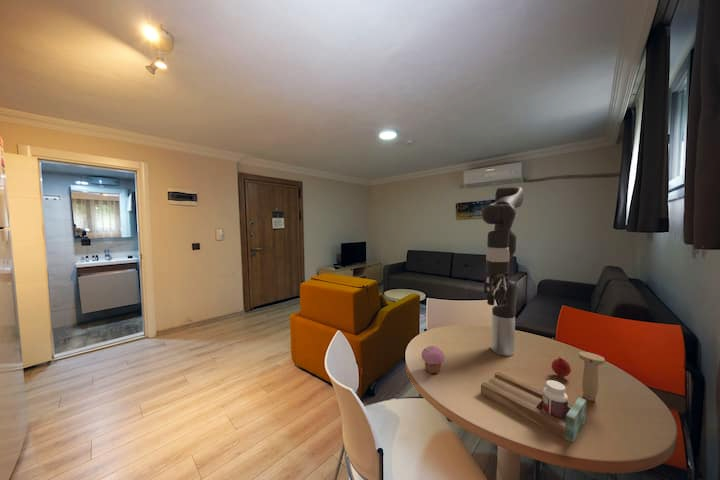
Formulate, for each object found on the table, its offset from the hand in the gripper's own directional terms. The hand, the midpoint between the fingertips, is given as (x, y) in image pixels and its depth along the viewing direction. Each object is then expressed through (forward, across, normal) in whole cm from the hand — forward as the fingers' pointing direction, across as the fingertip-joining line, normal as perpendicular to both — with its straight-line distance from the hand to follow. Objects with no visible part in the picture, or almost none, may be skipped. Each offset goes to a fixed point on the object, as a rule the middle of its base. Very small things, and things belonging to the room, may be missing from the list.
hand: (496, 302), depth 98 cm
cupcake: (+30, +14, -18) cm, 38 cm away
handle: (+30, -14, +25) cm, 42 cm away
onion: (+30, -21, +15) cm, 40 cm away
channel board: (+30, +6, +14) cm, 34 cm away
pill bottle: (+30, +6, +21) cm, 37 cm away
